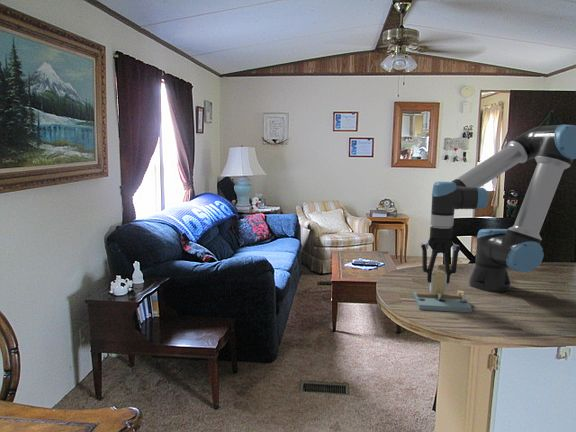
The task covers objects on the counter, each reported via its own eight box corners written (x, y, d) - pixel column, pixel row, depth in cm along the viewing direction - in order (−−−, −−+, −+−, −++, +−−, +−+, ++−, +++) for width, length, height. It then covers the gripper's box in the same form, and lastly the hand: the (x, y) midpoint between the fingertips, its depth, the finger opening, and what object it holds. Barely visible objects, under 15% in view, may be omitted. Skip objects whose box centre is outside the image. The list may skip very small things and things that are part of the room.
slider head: (441, 294, 164) (443, 270, 162) (445, 300, 157) (446, 275, 156) (431, 294, 164) (432, 269, 163) (434, 299, 158) (435, 274, 157)
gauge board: (461, 298, 166) (462, 287, 165) (471, 312, 152) (472, 300, 151) (413, 296, 168) (413, 285, 167) (419, 309, 154) (419, 297, 153)
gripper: (464, 225, 161) (459, 289, 164) (415, 223, 163) (411, 287, 167) (469, 229, 153) (464, 296, 157) (418, 227, 156) (414, 293, 159)
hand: (437, 291), depth 162 cm, fingers closed on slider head, 4 cm apart
